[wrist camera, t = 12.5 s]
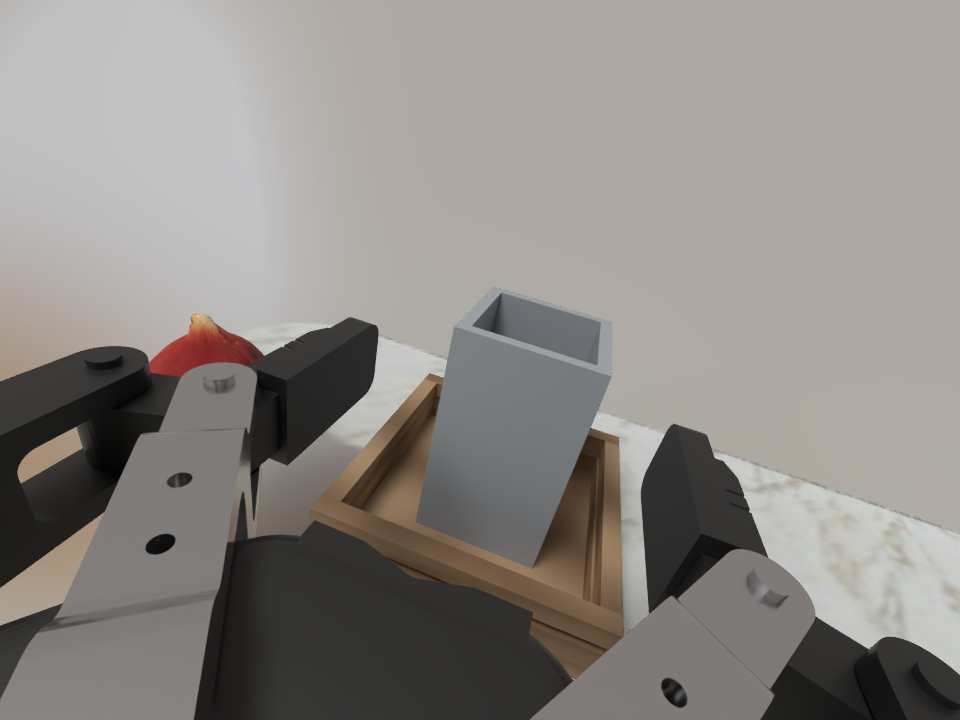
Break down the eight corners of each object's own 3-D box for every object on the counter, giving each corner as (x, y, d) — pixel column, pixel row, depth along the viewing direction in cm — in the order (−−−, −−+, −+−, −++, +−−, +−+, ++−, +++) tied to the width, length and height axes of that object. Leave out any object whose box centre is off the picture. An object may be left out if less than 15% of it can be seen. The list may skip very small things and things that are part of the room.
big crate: (592, 686, 16) (623, 637, 14) (308, 562, 18) (310, 508, 16) (600, 477, 26) (618, 437, 25) (422, 414, 28) (429, 373, 27)
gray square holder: (531, 568, 19) (611, 376, 14) (415, 522, 20) (454, 326, 15) (548, 484, 24) (612, 321, 19) (455, 450, 24) (493, 286, 20)
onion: (296, 430, 24) (298, 300, 21) (266, 510, 19) (262, 358, 16) (182, 421, 23) (162, 281, 19) (119, 505, 18) (76, 338, 14)
